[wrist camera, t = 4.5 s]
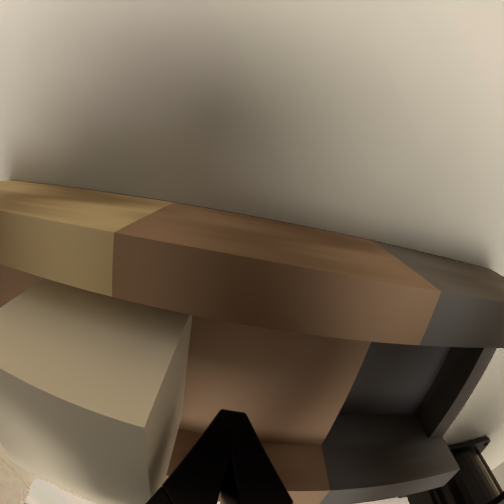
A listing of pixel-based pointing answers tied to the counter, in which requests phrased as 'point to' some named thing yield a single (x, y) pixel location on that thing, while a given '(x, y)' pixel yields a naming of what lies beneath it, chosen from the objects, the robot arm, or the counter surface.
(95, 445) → the cream block
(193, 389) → the channel
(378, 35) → the counter surface
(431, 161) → the counter surface
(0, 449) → the white cup
